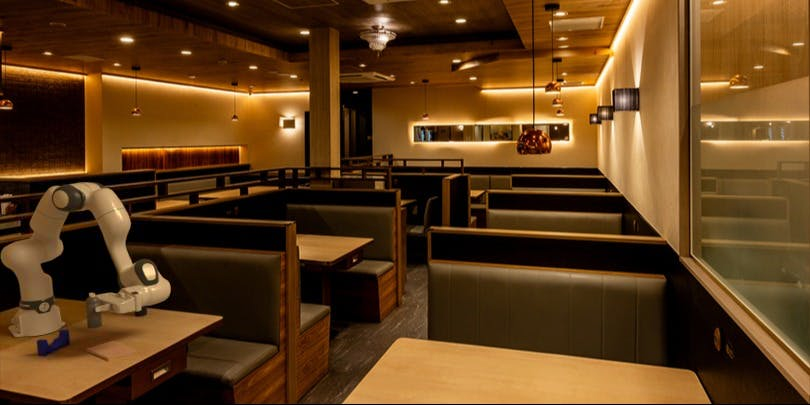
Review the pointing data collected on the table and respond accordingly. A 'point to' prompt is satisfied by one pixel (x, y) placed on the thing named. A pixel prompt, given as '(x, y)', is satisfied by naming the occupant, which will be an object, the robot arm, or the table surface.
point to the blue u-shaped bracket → (53, 343)
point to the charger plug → (93, 312)
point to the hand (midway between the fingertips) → (90, 308)
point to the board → (111, 350)
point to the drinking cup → (142, 312)
